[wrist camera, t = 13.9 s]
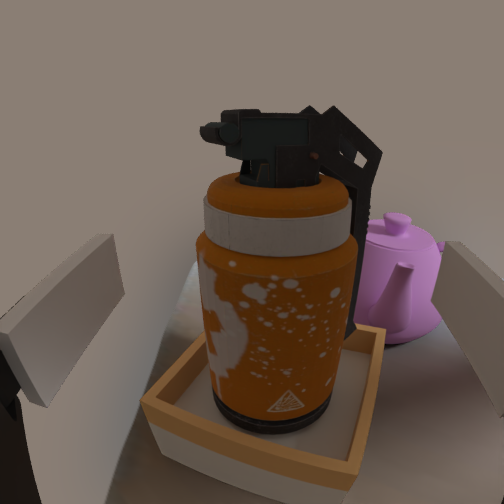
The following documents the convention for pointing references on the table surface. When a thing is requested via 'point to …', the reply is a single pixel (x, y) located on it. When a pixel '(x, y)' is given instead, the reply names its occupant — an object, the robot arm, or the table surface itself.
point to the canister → (282, 262)
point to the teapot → (398, 279)
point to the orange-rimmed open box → (270, 446)
